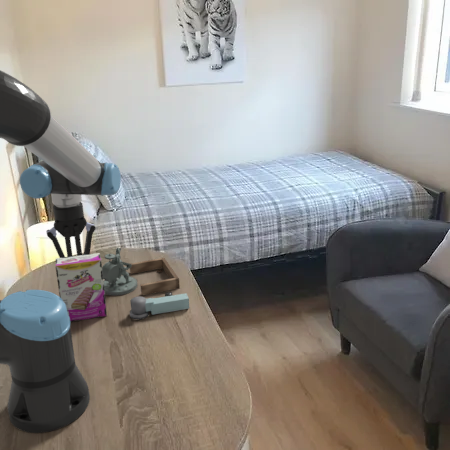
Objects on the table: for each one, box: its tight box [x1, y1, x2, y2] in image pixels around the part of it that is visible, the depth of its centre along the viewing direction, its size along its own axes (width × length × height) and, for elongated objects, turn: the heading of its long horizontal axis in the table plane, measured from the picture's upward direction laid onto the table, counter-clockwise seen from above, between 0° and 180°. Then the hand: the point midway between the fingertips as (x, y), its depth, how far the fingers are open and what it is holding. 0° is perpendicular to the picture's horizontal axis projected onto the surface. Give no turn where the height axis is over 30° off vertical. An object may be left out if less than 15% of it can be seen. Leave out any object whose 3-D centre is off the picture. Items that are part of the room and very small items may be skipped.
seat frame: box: [129, 257, 181, 296], centre depth 149 cm, size 11×16×3 cm
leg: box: [130, 293, 190, 315], centre depth 131 cm, size 4×15×4 cm, turn 106°
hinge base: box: [129, 291, 173, 321], centre depth 132 cm, size 12×7×2 cm, turn 112°
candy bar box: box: [55, 252, 108, 323], centre depth 128 cm, size 11×5×16 cm, turn 108°
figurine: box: [102, 247, 138, 297], centre depth 144 cm, size 11×11×12 cm
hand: (78, 283), depth 141 cm, fingers closed
